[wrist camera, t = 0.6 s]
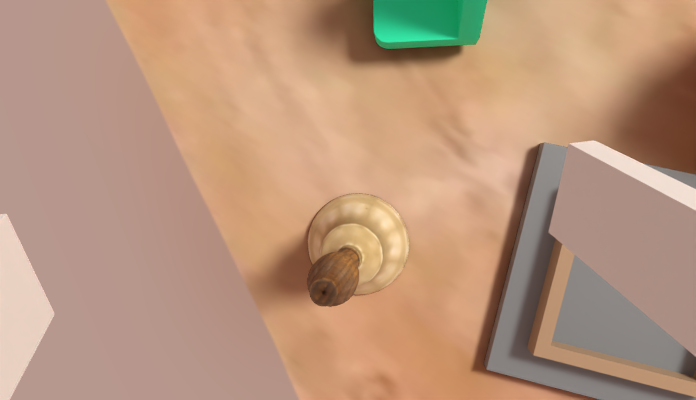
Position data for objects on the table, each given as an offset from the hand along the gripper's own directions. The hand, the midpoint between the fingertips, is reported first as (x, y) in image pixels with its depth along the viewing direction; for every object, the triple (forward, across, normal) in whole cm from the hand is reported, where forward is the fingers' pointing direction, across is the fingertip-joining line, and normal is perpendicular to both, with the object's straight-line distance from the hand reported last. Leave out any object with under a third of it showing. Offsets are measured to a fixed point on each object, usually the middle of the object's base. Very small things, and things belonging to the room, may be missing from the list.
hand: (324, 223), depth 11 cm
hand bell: (+20, +6, -15) cm, 25 cm away
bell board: (+12, +25, -17) cm, 32 cm away
